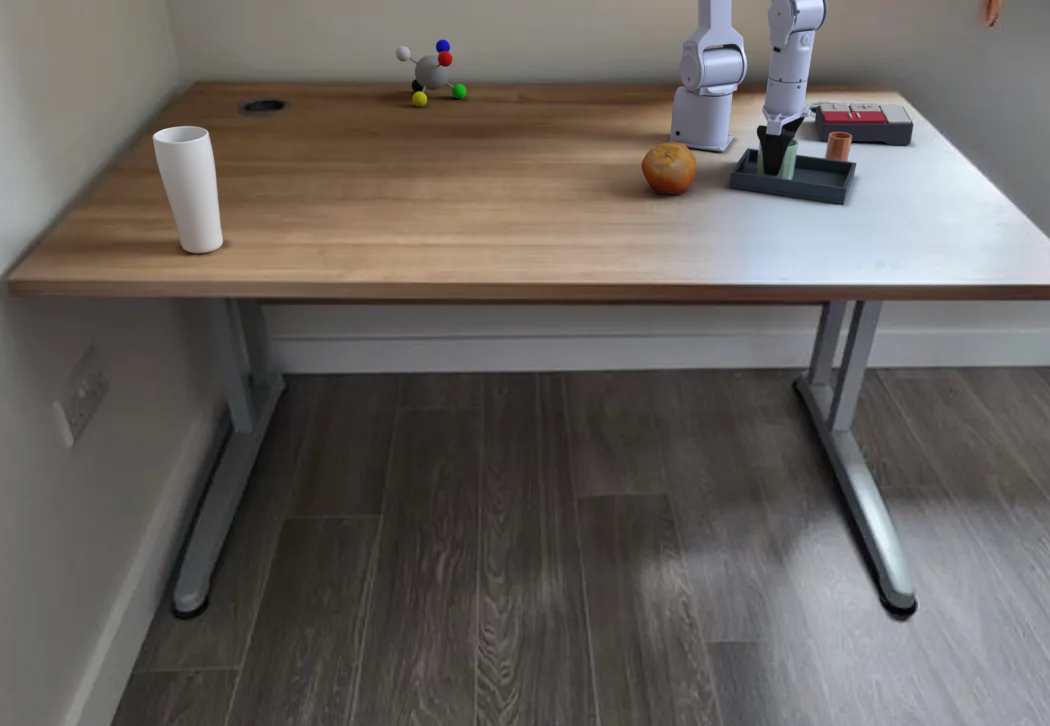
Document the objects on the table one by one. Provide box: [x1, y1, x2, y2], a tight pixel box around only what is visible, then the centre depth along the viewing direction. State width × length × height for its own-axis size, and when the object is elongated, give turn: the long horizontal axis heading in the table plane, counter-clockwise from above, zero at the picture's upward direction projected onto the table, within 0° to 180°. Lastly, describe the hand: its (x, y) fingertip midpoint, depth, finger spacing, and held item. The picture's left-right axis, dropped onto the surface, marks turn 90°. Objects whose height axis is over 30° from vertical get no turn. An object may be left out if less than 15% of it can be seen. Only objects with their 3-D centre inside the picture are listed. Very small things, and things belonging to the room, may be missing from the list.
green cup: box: [756, 138, 799, 180], centre depth 150 cm, size 6×6×6 cm
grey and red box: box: [814, 102, 915, 146], centre depth 170 cm, size 11×4×15 cm
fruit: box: [640, 142, 697, 195], centre depth 146 cm, size 8×8×8 cm
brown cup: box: [824, 132, 853, 162], centre depth 158 cm, size 4×4×4 cm
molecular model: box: [395, 39, 467, 108], centre depth 183 cm, size 11×13×10 cm
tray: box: [728, 147, 858, 205], centre depth 151 cm, size 17×12×2 cm
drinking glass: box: [152, 125, 224, 254], centre depth 124 cm, size 7×7×15 cm
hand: (774, 167), depth 151 cm, fingers closed on green cup, 6 cm apart
